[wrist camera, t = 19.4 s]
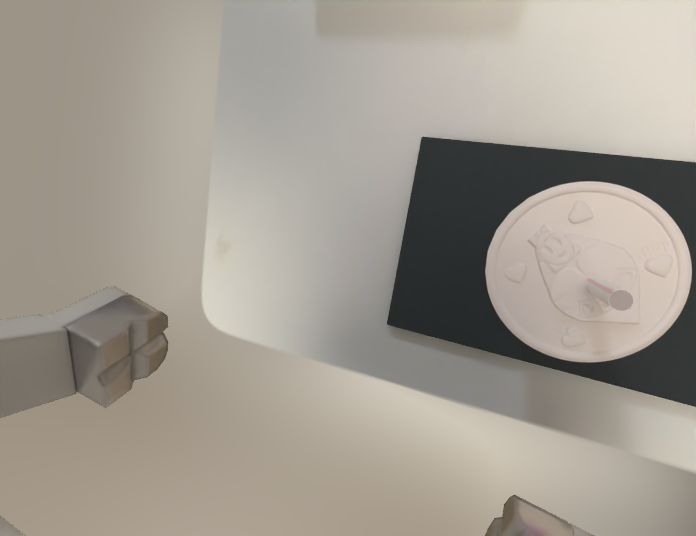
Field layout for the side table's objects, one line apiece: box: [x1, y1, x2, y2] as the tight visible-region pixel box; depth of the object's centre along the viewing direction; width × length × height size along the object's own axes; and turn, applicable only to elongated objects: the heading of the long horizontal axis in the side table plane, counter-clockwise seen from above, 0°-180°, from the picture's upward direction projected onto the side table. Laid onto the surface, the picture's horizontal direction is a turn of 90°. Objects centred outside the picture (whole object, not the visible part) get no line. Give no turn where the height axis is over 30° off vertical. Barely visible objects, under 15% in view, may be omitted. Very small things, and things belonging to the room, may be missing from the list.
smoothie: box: [485, 181, 692, 362], centre depth 17 cm, size 6×6×14 cm
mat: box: [387, 137, 696, 407], centre depth 24 cm, size 18×12×1 cm, turn 79°
